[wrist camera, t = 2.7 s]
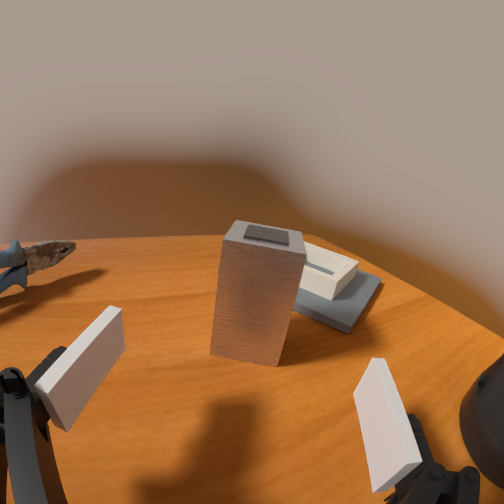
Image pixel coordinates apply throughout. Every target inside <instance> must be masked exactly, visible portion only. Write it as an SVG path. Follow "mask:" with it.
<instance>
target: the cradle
mask: <svg viewBox="0 0 504 504" xmlns="http://www.w3.org/2000/svg"><path fill="white" fill-rule="evenodd" d="M304 244H305V248H306V252H307V257H306V261H305V265H304V269H303V273H302V277H301V281H300V285H299V289H298V293H297V297H296V301H295V305H294V308H293V310H295V311H297V312H299V313H301V314H304V315H306V316H308V317H310V318H312V319H315V320H317V321H319V322H321V323H324V324H326V325H328V326H330V327H333V328H335V329H337V330H339V331H342V332H344V333H346V334H349V332H350V331H351V329H352V328H353V326H354V325H355V323H356V322H357V320H358V319H359V317H360V315H361V314H362V312H363V311H364V309H365V308H366V306H367V304H368V303H369V301H370V300H371V298H372V296H373V295H374V293H375V291H376V290H377V288H378V286H379V285H380V282H381V279H382V278H379V277H377V276H374V275H371V274H369V273H366V272H364V271H361V270H358V269H357V267H358V264H359V261H357V260H354V259H351V258H348V257H346V256H343V255H340V254H337V253H335V252H332V251H329V250H326V249H323V248H321V247H318V246H315V245H312V244H309V243H307V242H304ZM219 268H220V267H219ZM218 274H219V269H218Z"/></svg>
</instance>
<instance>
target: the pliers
mask: <svg viewBox="0 0 504 504" xmlns="http://www.w3.org/2000/svg"><path fill="white" fill-rule="evenodd" d="M75 246H76V244H75V243H74V242H72V241H61V240H46V241H43V242H40V243H37V244H35V246H32V247H30V248H29V247H24V248H21V246H20V244H19V242H18V240H16V239H15V240H13V241H12V243H11V245H10V247H9V248H8V249H7V250H5V251H0V268H6V267H10V268H9V269H8V270H6V271H5V272H3V273H1V274H0V294H1V293H2V292H4V291H5V290H6V289H7V288H9V287H10V286H11V285H15V284H17V285H20V286H21V287H22V288H25V287H26V286H27V276H28V275H31V274H33V273H35V271H36V270H40V269H41V270H44V269H46V268H49V267H52V266H54V265H56V264H57V263H59V262H60V261H61V260H62V259H64V258H65V257H66V256H67V255H69V254H70V253H71V252H73V251H74V250H75V249H76V247H75ZM63 247H64V248H63ZM62 248H63V249H62ZM61 249H62V250H61ZM60 250H61V251H60ZM24 262H25V263H24Z"/></svg>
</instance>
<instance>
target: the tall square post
mask: <svg viewBox="0 0 504 504" xmlns="http://www.w3.org/2000/svg"><path fill="white" fill-rule="evenodd" d="M306 257H307V252H306V248H305V244H304V241H303V237H302V233H301V232H299V231H293V230H288V229H283V228H277V227H271V226H267V225H261V224H255V223H250V222H244V221H238V220H236V221H235V222H234V224H233V225H232V227H231V228H230V230H229V231H228V233H227V234H226V236H225V237H224V239H223V244H222V252H221V260H220V268H219V276H218V284H217V292H216V301H215V310H214V319H213V328H212V337H211V347H210V355H214V356H218V357H223V358H228V359H233V360H238V361H243V362H249V363H254V364H260V365H266V366H272V367H277V365H278V362H279V359H280V355H281V352H282V348H283V345H284V341H285V338H286V334H287V330H288V327H289V323H290V320H291V316H292V312H293V308H294V305H295V301H296V297H297V293H298V289H299V285H300V281H301V277H302V273H303V269H304V265H305V261H306Z"/></svg>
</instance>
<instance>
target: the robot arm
mask: <svg viewBox="0 0 504 504" xmlns="http://www.w3.org/2000/svg"><path fill="white" fill-rule="evenodd" d="M125 349H126V348H125V339H124V329H123V317H122V309H120V308H117V307H114V306H111V305H110V306H109V307H108V308H107V309H106V310H105V311H104V312H103V313H102V314H101V315H100V316H99V317H98V318H97V319H96V320H95V321H94V322H93V323H92V324H91V325H90V326H89V327H88V328H87V329H86V330H85V331H84V332H83V333H82V334H81V335H80V336H79V337H78V338H77V339H76V340H75V341H74V342H73V343H72V344H71V345H70V346H69V347H68V348H66V347H63V346H60V347H58V348H56V349H54V350H53V351H52V352H51V353H50V354H49V355H48V356H47V358H45V359H44V360H43V361H42V363H40V364H39V365H38V366H37V367H36V368H35V369H34V370H33V371H32V372H31V374H30V375H29V376H28V377H27V378H26V379H25V378H24V376H23V374H22V372H21V371H20V370H19V369H17V368H14V367H9V368H5V369H4V370H2V371H1V372H0V504H6V484H7V469H8V468H9V475H10V481H11V486H12V491H13V496H14V500H15V504H68V503H67V500H66V497H65V494H64V490H63V487H62V484H61V480H60V477H59V473H58V469H57V465H56V461H55V457H54V452H53V447H52V442H51V437H50V431H49V426H48V423H47V422H48V421H49V419H50V418H51V420H52V422H53V424H54V425H55V426H56V427H58V428H60V429H62V430H63V431H65V432H67V433H68V431H69V430H70V428H71V427H72V425H73V424H74V422H75V421H76V419H77V418H78V416H79V415H80V413H81V412H82V410H83V409H84V407H85V406H86V404H87V403H88V401H89V400H90V398H91V397H92V396H93V394H94V393H95V391H96V390H97V388H98V387H99V385H100V384H101V383H102V381H103V380H104V378H105V377H106V375H107V374H108V373H109V371H110V370H111V368H112V367H113V366H114V364H115V363H116V361H117V360H118V359H119V357H120V356H121V355H122V353H123V352H124V350H125ZM353 395H354V399H355V403H356V408H357V412H358V417H359V421H360V426H361V431H362V436H363V441H364V446H365V451H366V456H367V462H368V467H369V473H370V479H371V485H372V491H373V493H377V492H384V491H388V490H390V489H391V488H392V487H393V486H395V489H396V491H395V492H394V493H392V494H391V495H390V496H388V497H387V498H386V499H385V500H384V501H385V502H386V501H387V500H388V499H389V500H388V502H387V503H386V504H478V502H479V491H480V474H479V472H478V470H477V469H476V468H475V467H472V466H467V467H464V468H463V469H462V470H461V471H460V472H453V471H446V470H445V468H444V467H443V466H442V465H441V464H439V463H435V462H434V460H433V457H432V454H431V451H430V448H429V445H428V443H427V440H426V438H425V434H424V432H423V431H422V430H423V429H422V426H421V424H420V421H419V420H418V419H417V418H416V416H415V415H414V414H406V411H405V409H404V406H403V403H402V401H401V398H400V395H399V393H398V390H397V388H396V385H395V383H394V380H393V378H392V375H391V373H390V370H389V368H388V365H387V363H386V361H385V359H383V358H372V359H371V361H370V363H369V365H368V367H367V369H366V371H365V373H364V375H363V376H362V378H361V380H360V382H359V384H358V386H357V387H356V389H355V391H354V393H353ZM460 428H461V432H462V436H463V439H464V442H465V445H466V447H467V450H468V452H469V454H470V455H471V457H472V459H473V461H474V462H475V464H476V465H477V466H478V468H479V469H480V470H481V471H482V473H483V474H484V475H485V476H486V477H487V478H489V479H490V480H491V481H492V482H494V483H495V484H496V485H498V486H500V487H502V488H504V354H503V355H501V356H500V357H499V358H498V359H497V360H496V361H495V362H494V363H493V364H492V365H491V366H490V367H489V368H487V369H486V370H485V371H484V372H483V373H482V374H481V375H480V376H479V377H478V378H477V379H476V381H475V382H474V383H473V385H472V386H471V388H470V389H469V391H468V392H467V393H466V395H465V396H464V398H463V400H462V403H461V407H460Z"/></svg>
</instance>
